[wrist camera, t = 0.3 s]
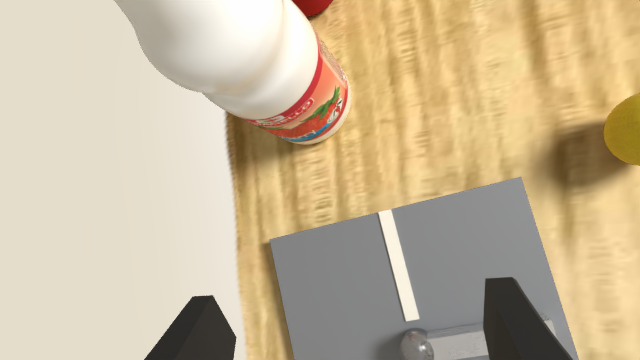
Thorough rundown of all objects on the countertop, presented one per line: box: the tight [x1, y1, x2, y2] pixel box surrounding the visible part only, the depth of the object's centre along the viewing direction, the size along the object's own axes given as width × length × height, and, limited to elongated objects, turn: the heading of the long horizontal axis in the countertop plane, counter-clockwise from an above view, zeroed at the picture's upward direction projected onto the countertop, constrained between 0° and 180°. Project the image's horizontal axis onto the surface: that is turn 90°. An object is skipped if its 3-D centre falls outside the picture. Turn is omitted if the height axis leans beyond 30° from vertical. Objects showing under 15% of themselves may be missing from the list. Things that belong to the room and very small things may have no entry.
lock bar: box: [399, 313, 558, 360], centre depth 33 cm, size 12×3×2 cm, turn 104°
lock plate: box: [270, 177, 579, 360], centre depth 36 cm, size 16×24×4 cm, turn 104°
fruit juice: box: [115, 0, 351, 144], centre depth 30 cm, size 9×9×28 cm
